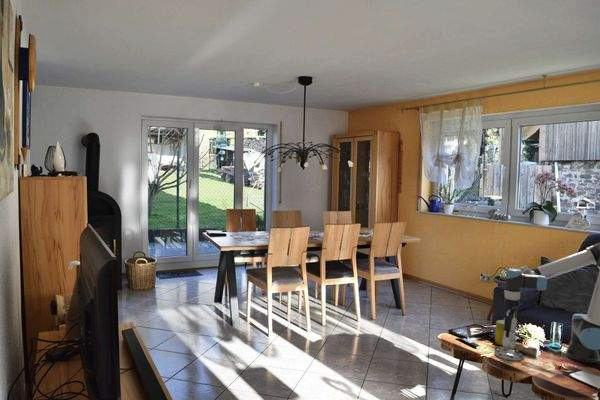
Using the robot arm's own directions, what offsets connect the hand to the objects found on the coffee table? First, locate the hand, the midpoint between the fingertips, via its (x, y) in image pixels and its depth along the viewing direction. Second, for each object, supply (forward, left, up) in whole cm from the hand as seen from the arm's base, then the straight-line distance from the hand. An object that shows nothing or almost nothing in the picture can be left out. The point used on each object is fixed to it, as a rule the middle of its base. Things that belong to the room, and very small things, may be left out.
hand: (509, 341), depth 249 cm
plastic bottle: (0, 0, -4) cm, 4 cm away
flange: (0, 0, -8) cm, 8 cm away
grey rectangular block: (-6, -9, -8) cm, 13 cm away
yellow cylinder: (+8, -18, -8) cm, 21 cm away
